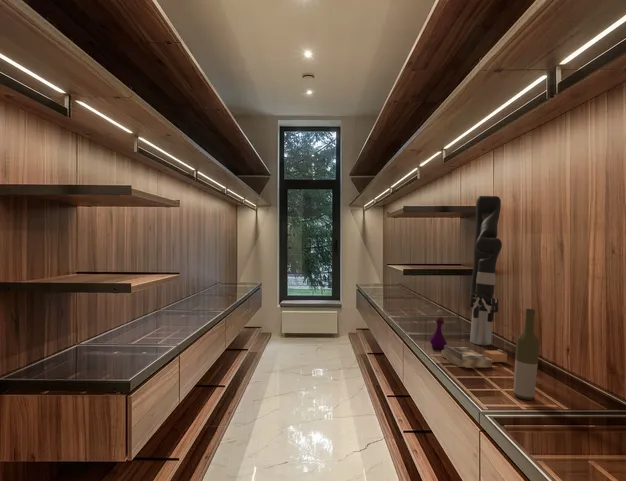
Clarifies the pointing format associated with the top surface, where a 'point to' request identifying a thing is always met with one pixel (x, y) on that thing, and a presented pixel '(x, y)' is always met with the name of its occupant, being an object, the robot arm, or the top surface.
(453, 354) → the dock
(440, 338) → the perfume bottle
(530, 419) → the top surface
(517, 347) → the bottle
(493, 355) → the orange box with handle
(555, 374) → the top surface
